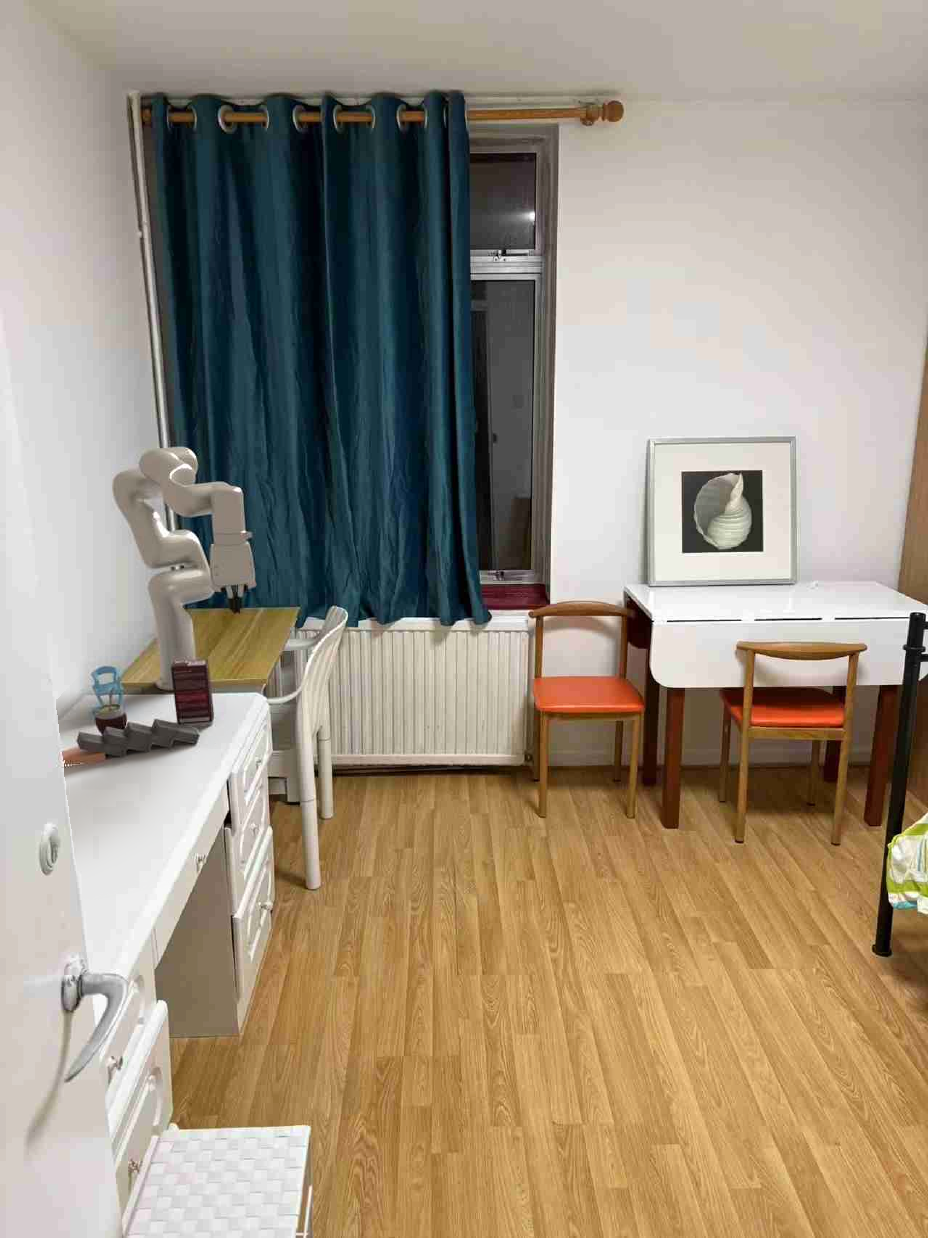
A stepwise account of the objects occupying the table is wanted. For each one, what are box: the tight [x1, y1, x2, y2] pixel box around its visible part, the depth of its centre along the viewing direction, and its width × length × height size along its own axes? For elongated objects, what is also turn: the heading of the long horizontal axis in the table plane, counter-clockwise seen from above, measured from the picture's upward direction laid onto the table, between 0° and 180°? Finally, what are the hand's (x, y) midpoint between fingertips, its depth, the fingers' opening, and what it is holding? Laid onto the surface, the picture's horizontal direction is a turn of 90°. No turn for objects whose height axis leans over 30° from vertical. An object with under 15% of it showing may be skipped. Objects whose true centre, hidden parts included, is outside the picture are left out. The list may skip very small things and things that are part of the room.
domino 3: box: [125, 721, 174, 748], centre depth 223 cm, size 5×2×10 cm
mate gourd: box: [94, 687, 128, 736], centre depth 226 cm, size 8×8×15 cm
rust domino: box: [61, 747, 106, 768], centre depth 218 cm, size 5×2×10 cm
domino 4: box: [151, 718, 201, 744], centre depth 225 cm, size 5×2×10 cm
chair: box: [90, 665, 125, 714], centre depth 243 cm, size 8×8×12 cm
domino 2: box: [103, 726, 153, 753], centre depth 221 cm, size 5×2×10 cm
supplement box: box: [171, 658, 215, 727], centre depth 236 cm, size 9×5×16 cm, turn 98°
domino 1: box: [75, 731, 128, 758], centre depth 218 cm, size 5×2×10 cm
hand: (236, 611), depth 235 cm, fingers closed
